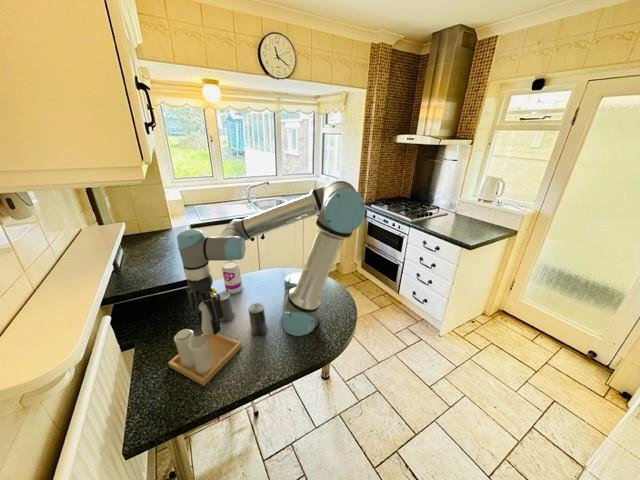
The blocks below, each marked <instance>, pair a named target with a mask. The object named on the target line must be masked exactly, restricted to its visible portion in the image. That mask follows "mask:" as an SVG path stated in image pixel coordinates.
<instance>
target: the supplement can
mask: <svg viewBox="0 0 640 480" xmlns="http://www.w3.org/2000/svg"><path fill="white" fill-rule="evenodd" d="M221 271H222V277H223V283H224V288H225V292H228V293H229V294H230V295H234V294H239V293H240V292H241V291H242V289H243V283H242V277H241V269H240V265H239V264H238V262H237V261H234V260H233V261H226V262H225V263H223V264H222V267H221Z"/></svg>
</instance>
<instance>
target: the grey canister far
mask: <svg viewBox="0 0 640 480" xmlns="http://www.w3.org/2000/svg"><path fill="white" fill-rule="evenodd" d="M217 294H219V295H220V303H221V307H222V311H223V316H224V317H222V318H221V319H220V323H221V322H222V323H224V324H227V323H229V322H232V321H233V320H234V312H233V311H234V310H233V306H232V300H231V294H230V293H228V292H226V291H222V292H217Z"/></svg>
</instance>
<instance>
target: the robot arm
mask: <svg viewBox="0 0 640 480" xmlns="http://www.w3.org/2000/svg"><path fill="white" fill-rule="evenodd" d="M314 216H317V219H316V221H315V225H316V227H317V232H316V235H315V237H314V240H313V243H312V245H311V247H310V250H309V252H308V255H307V257H306V260H305V263H304V265H303V268H302V271H301V272H295V273H291V274H289V275H287V276H285V278H284V283H283V286H284V294H283V302H282V310H281V316H280V326H281V328H282V329H283V330H284V332H285V333H287V334H288V335H290V336H291V335H292V336H294V337H295V336H296V337H303V336H306V335H308V334H310V333H312V334H313V335H314V336H315V337H316V339H318V340H319V342H320V343H321V344H324V343H325V341H324V340H323V339H322V338H321V337H320V336H319V335H318V334H317V333H316V331H315V329H317V327H318V324H319V317H318V316H319V315H318V314H317V312H318V310H319V308H320V306H321V303H322V301H321V298H320V295H321V292H322V291H323V288H324V286H325V284H326V281H327V279H328V277H329V274H330V272H331V270H332V268H333V266H334V263H335V261H336V258H337V256H338V254H339V251H340V249H341V247H342V246H343V243H344V241H345V240H347V239H349V238H351V237H352V235H353V232H354V231H355V230H357V229H358V228H359V227H360V226H361V225H362V223H363V221H364V220H365V217H366V206H365V202H364V199H363V197H362V196H361V194H360V193H359V192H358V190H356V188H355V187H354V186H353V185H352V184H351V183H350V182H348V181H345V180H334V181H331V182H329V183H326V184H324V185H321V186H319V187H317V188H314V189H311V191H310V192H309V194H306V195H303V196H301V197H299V198H296V199H292V200H290V201H288V202H285V203H282V204H280V205H277V206H274V207H271V208H269V209H266V210H263V211H261V212H259V213H256V214H253V215H250V216H248V217H247V216H246V217H245V218H242V219H240V218H235V219H233V220H231V221H230V222H229V223H228V224H226V226H225V228H224V230H223V231H222V232H221V233H220V235H218V236H205V234H204V232H203V230H201V229H197V228H190V229H185V230H183V231H181V232H179V233H177V236H176V242H177V249H178V251H179V256H180V258H181V262H182V266H183V272H184V275H185V278H186V283H187V286H188V287H187V286H186V288H185V290H186V293H187V296H188V301H189V306H190V310H191V311H192V312H194V313H195V314H196V316H197V320H198V323H199V326H200V327H199V328H200V330H202V311H200V309H199V304H200V303H201V302H202V301H203V303H204V304H206V307H207V309H208V311H209V313H210V315H211V318H212V320H211V324H212V329H213V333H214V335H216V334H217V333H220V332H221V331H222V329H221V328H222V327H221V321H220V319H221V318H222V317H224V316H223V311H222V307H221V303H220V295H219V294H218V293H217V295H216V294H214V293H213V290H212V289H211V287H212V286H213V283H214V282H213V281H214V280H213V276H212V273H211V272H212V271H211V266H210V261H212V262H213V261H214V262H215V261H217V262H218V261H226V262H232V261H233V262H234V261H240V260H241V261H242V260H243V259H244V258H245V256H246V248H247V247H246V246H247V245H246V241H248V240H251V239H253V238H257V237H259V236H262V235H264V234H267V233H271V232H272V231H273V232H274V231H277V230H278V229H281V228H284V227H288V226H289V225H292V224H295V223H298V222H301V221H304V220H306V219H309V218H312V217H314Z"/></svg>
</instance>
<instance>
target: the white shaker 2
mask: <svg viewBox="0 0 640 480" xmlns="http://www.w3.org/2000/svg"><path fill="white" fill-rule="evenodd" d="M189 350H190V353H191V357H192V360H193V364H194V367H195V371H196V374H197V375H199V376H204V375H207V374H208V373H209V372H210V371H211V370H212V369H213V368H214V362H213V358H212V353H211V349H210V345H209V341H208V338H207V337H205V336H201V335H196V336H195V338H193V339H192V340H191V342H190V343H189Z"/></svg>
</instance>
